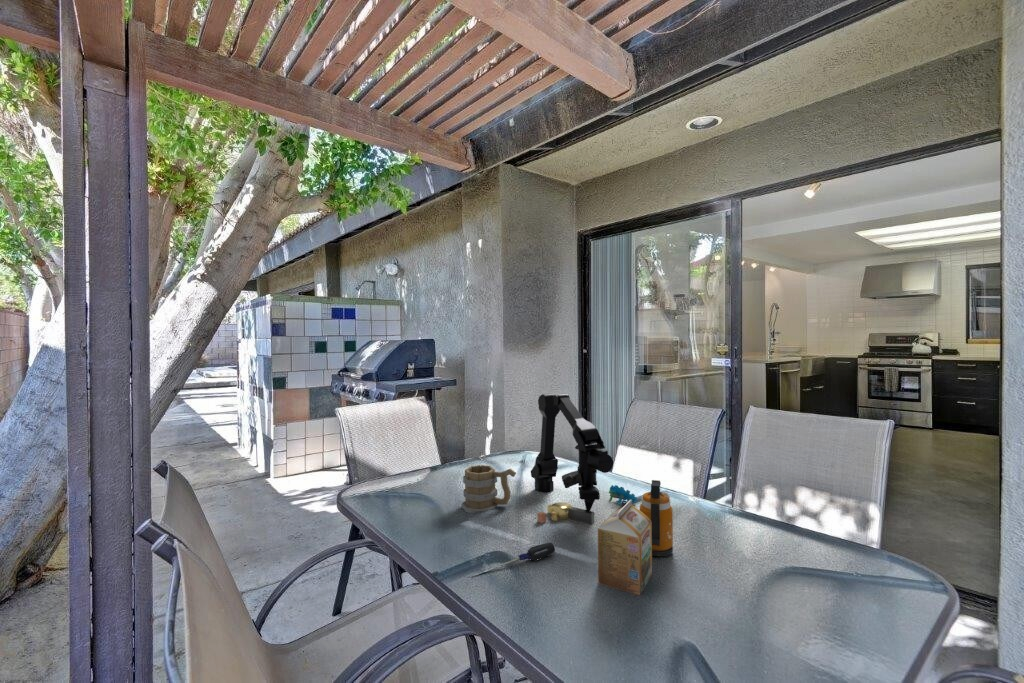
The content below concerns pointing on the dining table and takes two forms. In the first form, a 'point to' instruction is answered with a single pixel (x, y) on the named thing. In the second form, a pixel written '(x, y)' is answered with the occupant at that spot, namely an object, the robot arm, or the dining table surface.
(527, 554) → the screwdriver
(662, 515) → the canister
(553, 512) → the gold lugged knob
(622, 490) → the blue branched piece
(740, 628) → the dining table surface
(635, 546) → the milk carton
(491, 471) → the tankard
